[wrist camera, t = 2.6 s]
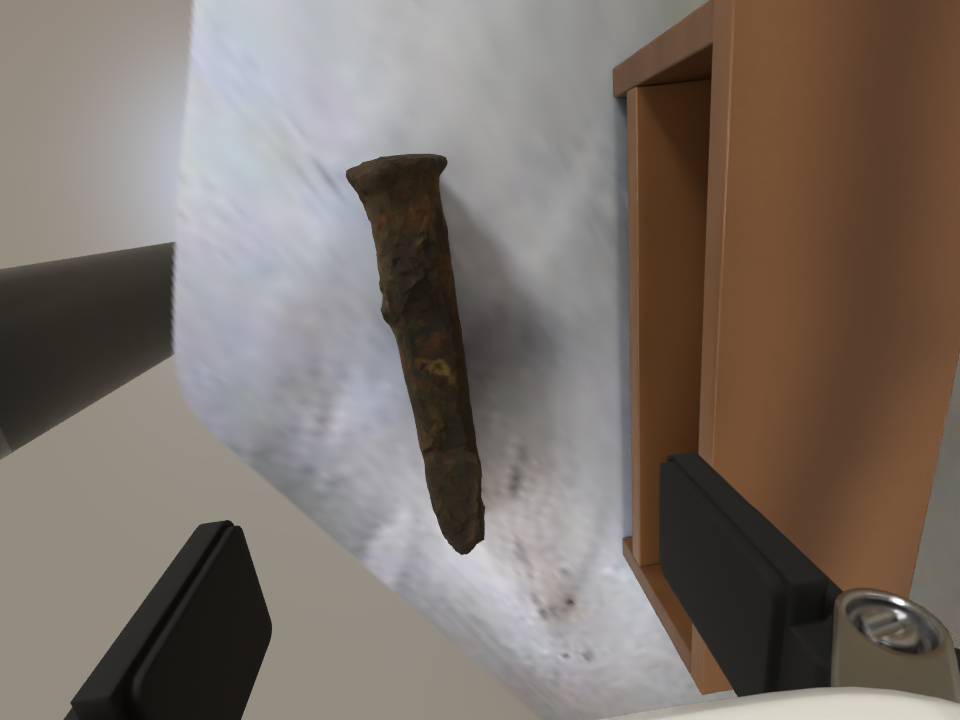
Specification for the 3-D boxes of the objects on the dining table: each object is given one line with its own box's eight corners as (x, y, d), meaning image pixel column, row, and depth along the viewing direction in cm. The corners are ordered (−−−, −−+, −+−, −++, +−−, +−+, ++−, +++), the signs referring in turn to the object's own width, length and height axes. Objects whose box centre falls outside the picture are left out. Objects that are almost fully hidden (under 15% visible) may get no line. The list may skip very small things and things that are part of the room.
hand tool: (353, 164, 22) (334, 155, 17) (444, 155, 22) (448, 144, 18) (414, 524, 28) (412, 585, 23) (485, 514, 28) (495, 573, 24)
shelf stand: (622, 554, 30) (701, 696, 21) (612, 68, 22) (734, -20, 13) (764, 531, 30) (896, 659, 22) (806, 48, 22) (1044, -47, 14)
